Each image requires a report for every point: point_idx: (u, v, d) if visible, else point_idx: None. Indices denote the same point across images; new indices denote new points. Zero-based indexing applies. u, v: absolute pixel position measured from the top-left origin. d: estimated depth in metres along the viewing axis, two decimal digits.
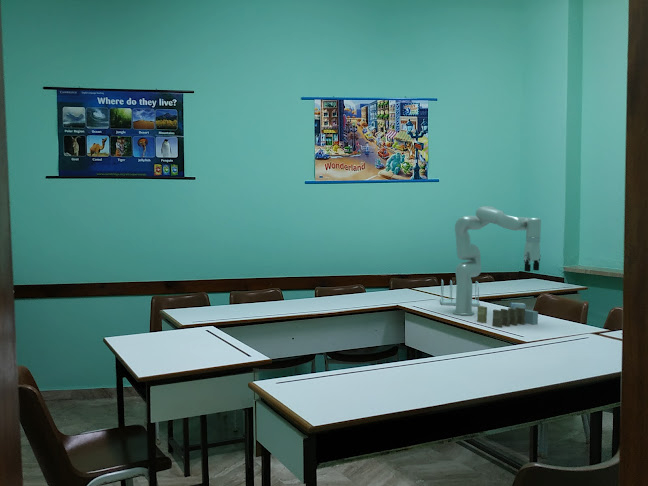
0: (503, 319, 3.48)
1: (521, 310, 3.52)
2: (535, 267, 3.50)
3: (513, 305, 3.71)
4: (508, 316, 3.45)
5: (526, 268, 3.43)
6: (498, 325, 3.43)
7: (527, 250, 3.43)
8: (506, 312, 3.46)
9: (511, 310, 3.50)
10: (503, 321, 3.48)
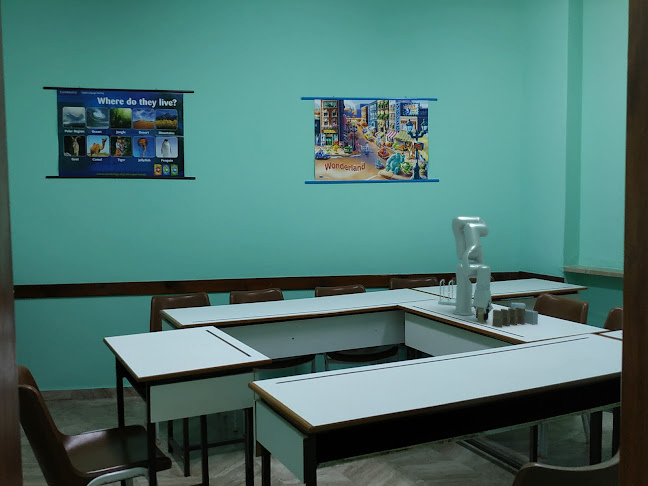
0: (503, 319, 3.48)
1: (521, 310, 3.52)
2: None
3: (513, 305, 3.71)
4: (508, 316, 3.45)
5: (487, 317, 3.53)
6: (498, 325, 3.43)
7: (488, 298, 3.51)
8: (506, 312, 3.46)
9: (511, 310, 3.50)
10: (503, 321, 3.48)
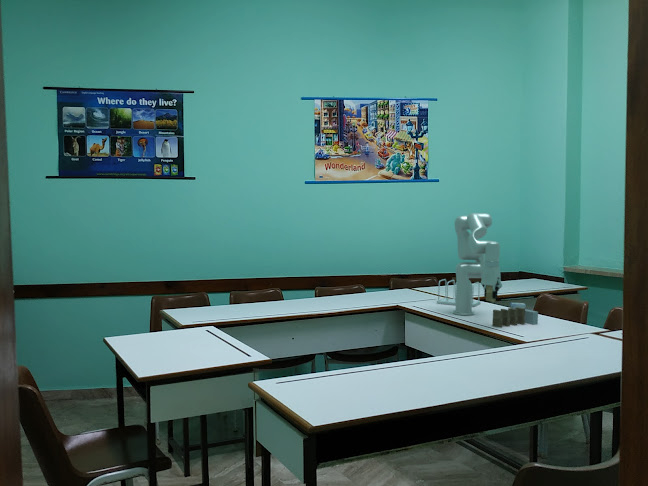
0: (503, 319, 3.48)
1: (521, 310, 3.52)
2: None
3: (513, 305, 3.71)
4: (508, 316, 3.45)
5: (496, 295, 3.37)
6: (498, 325, 3.43)
7: (498, 275, 3.35)
8: (506, 312, 3.46)
9: (511, 310, 3.50)
10: (503, 321, 3.48)
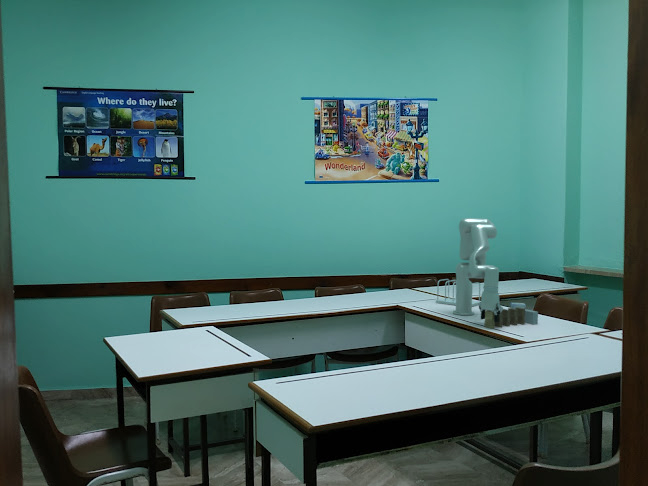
0: (503, 319, 3.48)
1: (521, 310, 3.52)
2: (483, 316, 3.45)
3: (513, 305, 3.71)
4: (508, 316, 3.45)
5: (497, 319, 3.37)
6: (498, 325, 3.43)
7: (496, 301, 3.36)
8: (506, 312, 3.46)
9: (511, 310, 3.50)
10: (503, 321, 3.48)
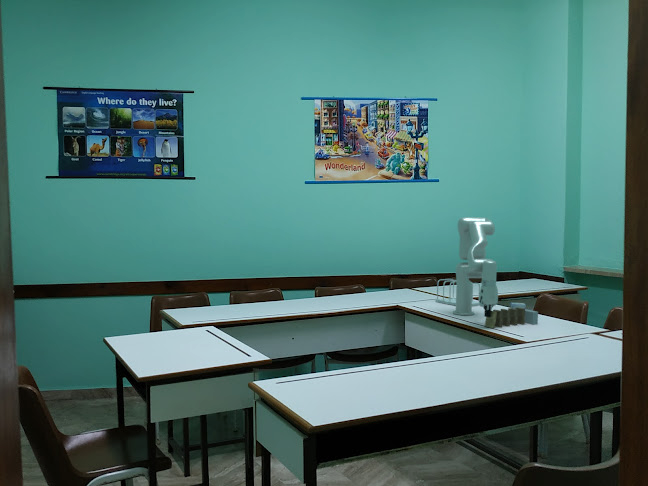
0: (503, 319, 3.48)
1: (521, 310, 3.52)
2: None
3: (513, 305, 3.71)
4: (508, 316, 3.45)
5: None
6: (498, 325, 3.43)
7: None
8: (506, 312, 3.46)
9: (511, 310, 3.50)
10: (503, 321, 3.48)
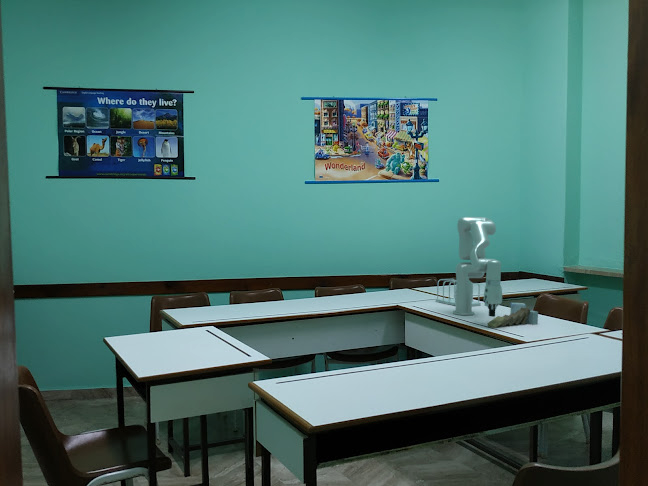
0: None
1: (526, 310, 3.54)
2: None
3: (513, 305, 3.71)
4: (515, 318, 3.49)
5: None
6: None
7: None
8: (516, 315, 3.50)
9: (520, 311, 3.54)
10: None
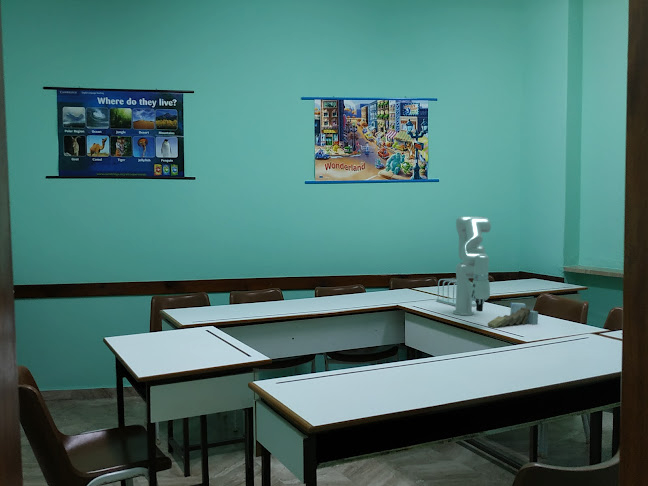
0: None
1: (526, 309, 3.54)
2: None
3: (513, 305, 3.71)
4: (516, 318, 3.49)
5: None
6: None
7: None
8: (517, 315, 3.50)
9: (520, 311, 3.54)
10: None
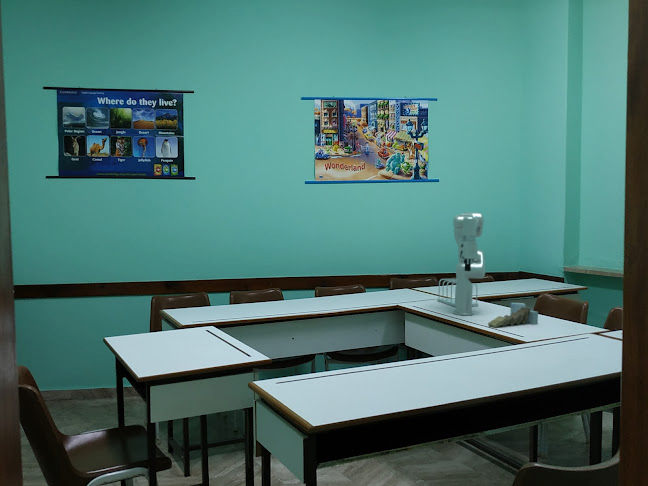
0: None
1: (526, 309, 3.54)
2: None
3: (513, 305, 3.71)
4: (517, 318, 3.49)
5: None
6: None
7: None
8: (517, 314, 3.50)
9: (520, 311, 3.54)
10: None
